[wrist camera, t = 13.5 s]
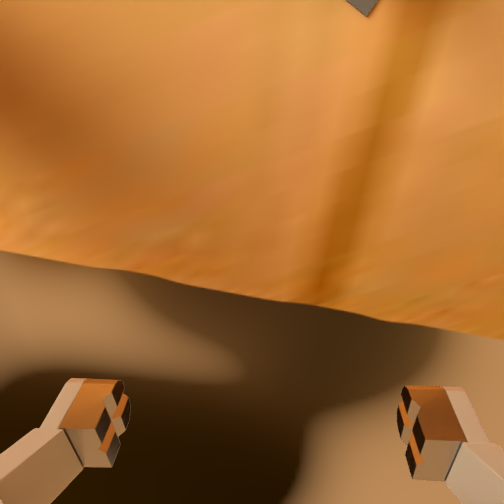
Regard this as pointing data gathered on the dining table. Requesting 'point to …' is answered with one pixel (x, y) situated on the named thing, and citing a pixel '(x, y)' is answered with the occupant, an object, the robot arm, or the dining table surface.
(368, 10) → the mat
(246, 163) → the dining table surface
